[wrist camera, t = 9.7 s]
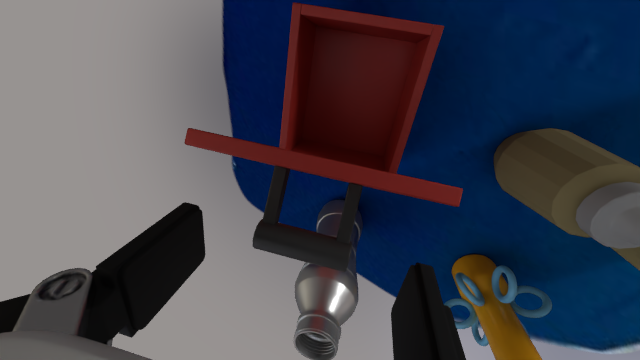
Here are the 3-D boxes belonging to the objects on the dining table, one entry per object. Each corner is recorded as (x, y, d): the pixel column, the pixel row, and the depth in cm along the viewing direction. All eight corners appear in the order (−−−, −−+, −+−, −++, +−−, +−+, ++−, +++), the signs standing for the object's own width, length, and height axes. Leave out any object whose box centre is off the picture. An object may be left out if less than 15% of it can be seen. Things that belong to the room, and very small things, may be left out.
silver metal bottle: (355, 189, 36) (339, 313, 18) (368, 228, 38) (366, 372, 20) (314, 199, 38) (262, 319, 20) (329, 235, 40) (294, 373, 22)
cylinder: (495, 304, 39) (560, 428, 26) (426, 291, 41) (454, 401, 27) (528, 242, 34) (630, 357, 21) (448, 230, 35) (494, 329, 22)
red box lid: (187, 127, 12) (162, 239, 12) (463, 188, 10) (434, 314, 10) (277, 158, 27) (266, 206, 27) (393, 184, 26) (381, 235, 26)
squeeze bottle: (476, 185, 32) (582, 303, 16) (489, 122, 29) (639, 191, 13) (549, 186, 30) (748, 319, 14) (571, 119, 27) (862, 195, 11)
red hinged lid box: (312, 18, 28) (292, 1, 21) (425, 36, 27) (444, 25, 20) (297, 141, 34) (277, 160, 27) (387, 161, 33) (392, 186, 26)
